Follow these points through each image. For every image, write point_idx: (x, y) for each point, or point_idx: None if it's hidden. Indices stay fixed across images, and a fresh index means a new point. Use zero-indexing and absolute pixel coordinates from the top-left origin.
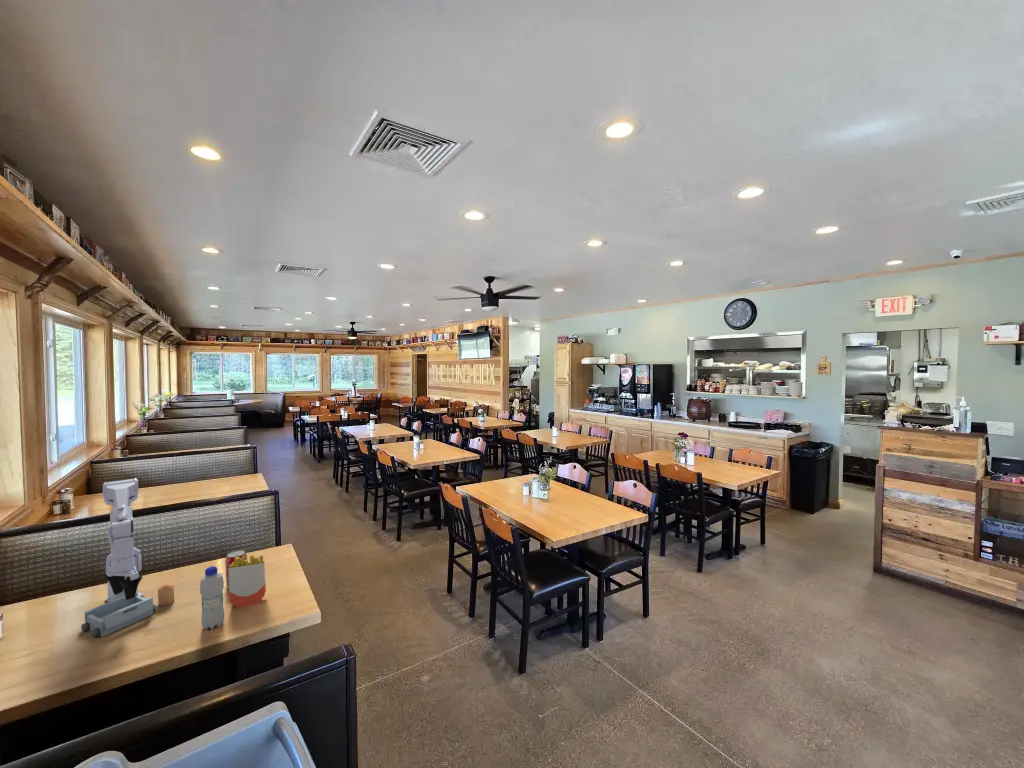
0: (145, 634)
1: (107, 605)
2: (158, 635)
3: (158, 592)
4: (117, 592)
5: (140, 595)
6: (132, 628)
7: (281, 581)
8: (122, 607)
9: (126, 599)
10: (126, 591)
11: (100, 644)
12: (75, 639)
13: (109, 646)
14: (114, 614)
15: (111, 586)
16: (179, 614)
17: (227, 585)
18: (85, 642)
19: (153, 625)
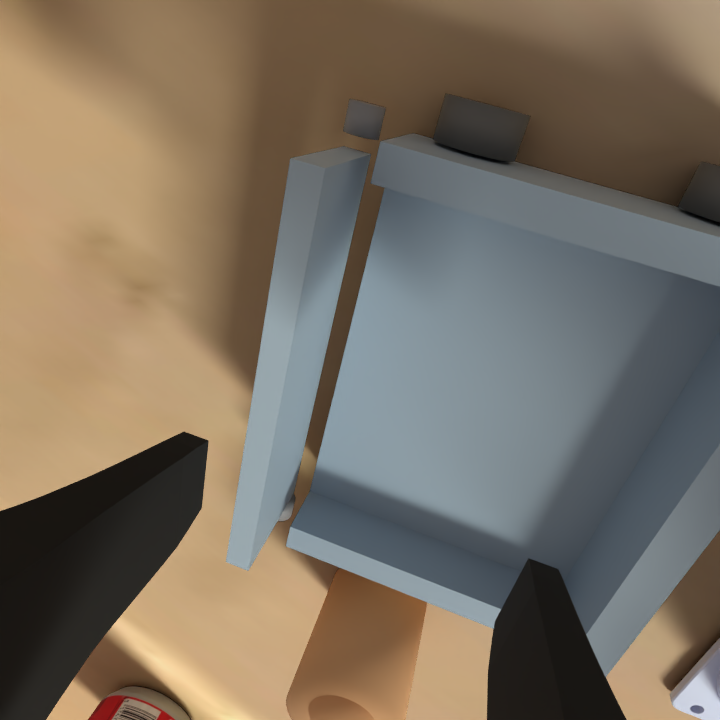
0: (101, 235)
1: (688, 471)
2: (10, 240)
3: (365, 662)
4: (516, 598)
5: (684, 695)
6: None
7: None
8: (589, 506)
9: (202, 440)
10: (37, 503)
11: (294, 23)
12: (674, 20)
13: (182, 21)
14: (281, 254)
15: (599, 706)
16: None
17: (148, 712)
18: (486, 6)
19: (170, 343)
